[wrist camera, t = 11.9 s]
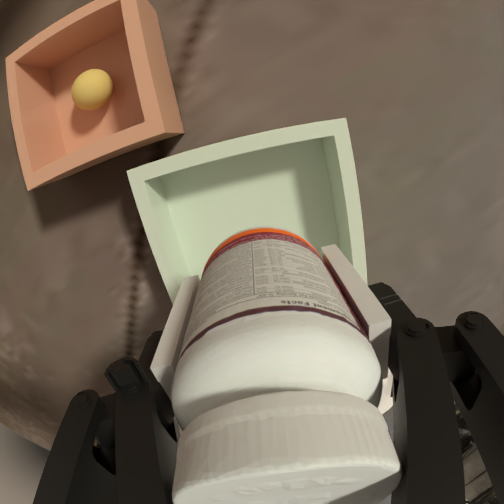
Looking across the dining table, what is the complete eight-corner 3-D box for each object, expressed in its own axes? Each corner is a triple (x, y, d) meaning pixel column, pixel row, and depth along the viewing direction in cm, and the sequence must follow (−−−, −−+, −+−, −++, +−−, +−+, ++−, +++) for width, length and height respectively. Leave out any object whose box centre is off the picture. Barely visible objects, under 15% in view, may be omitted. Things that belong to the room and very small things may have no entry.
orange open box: (44, 66, 17) (5, 58, 12) (156, 11, 16) (133, -17, 11) (66, 177, 21) (27, 191, 16) (184, 133, 20) (165, 132, 15)
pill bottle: (305, 336, 16) (353, 527, 6) (196, 321, 16) (157, 527, 5) (338, 234, 14) (480, 423, 4) (211, 211, 14) (130, 431, 3)
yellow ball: (81, 82, 18) (60, 78, 15) (115, 66, 17) (97, 58, 14) (88, 117, 19) (67, 116, 16) (123, 102, 19) (105, 98, 16)
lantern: (483, 419, 39) (534, 518, 11) (406, 464, 42) (442, 576, 14) (495, 371, 33) (574, 496, 5) (399, 429, 36) (453, 583, 8)
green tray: (145, 164, 21) (126, 170, 17) (328, 120, 20) (345, 117, 16) (197, 320, 26) (191, 348, 23) (352, 286, 25) (368, 310, 22)
